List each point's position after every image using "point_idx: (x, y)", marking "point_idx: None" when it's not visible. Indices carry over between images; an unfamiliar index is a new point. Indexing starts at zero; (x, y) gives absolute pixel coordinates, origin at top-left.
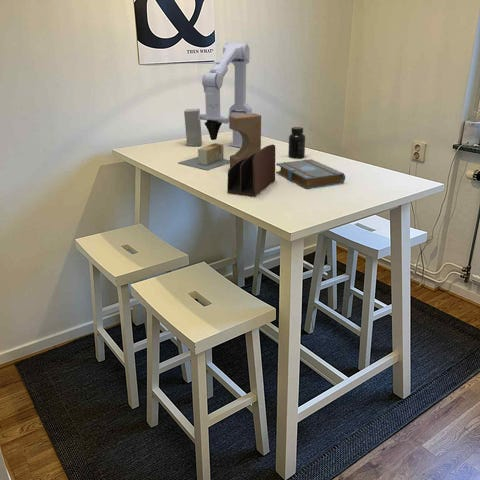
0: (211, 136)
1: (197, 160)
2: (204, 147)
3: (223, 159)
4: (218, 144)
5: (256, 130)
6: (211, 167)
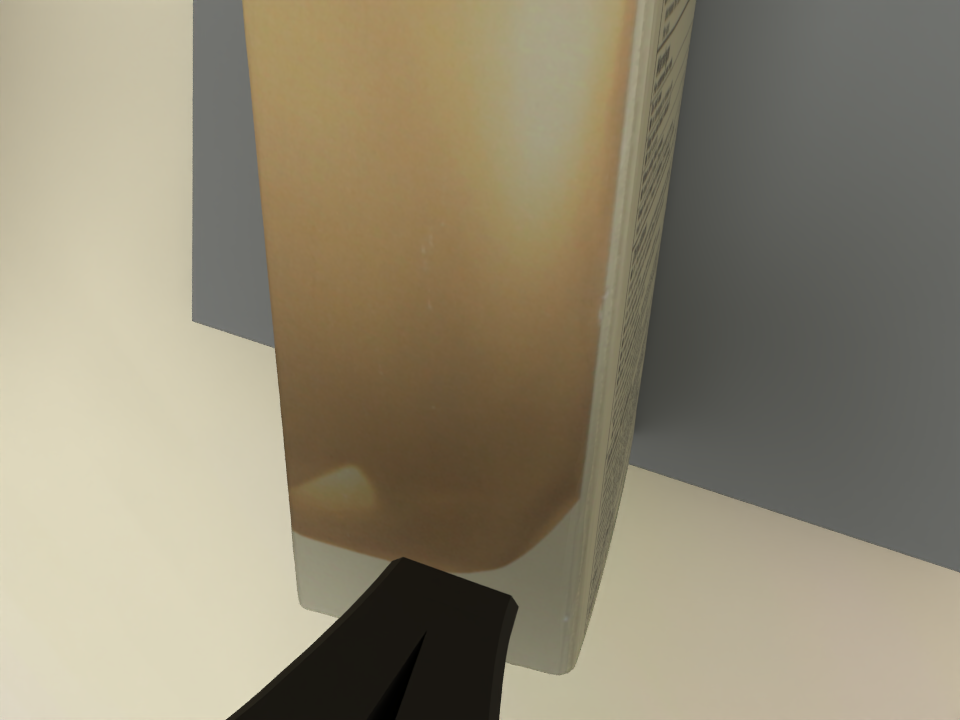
0: (401, 660)
1: (955, 62)
2: (550, 10)
3: None
4: (378, 556)
5: None
6: None
